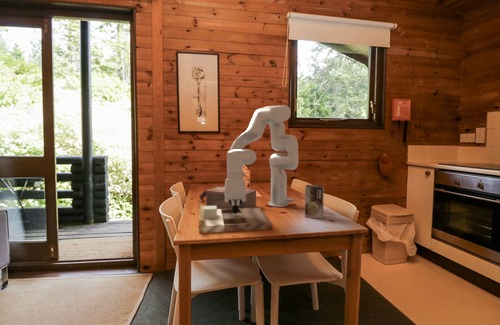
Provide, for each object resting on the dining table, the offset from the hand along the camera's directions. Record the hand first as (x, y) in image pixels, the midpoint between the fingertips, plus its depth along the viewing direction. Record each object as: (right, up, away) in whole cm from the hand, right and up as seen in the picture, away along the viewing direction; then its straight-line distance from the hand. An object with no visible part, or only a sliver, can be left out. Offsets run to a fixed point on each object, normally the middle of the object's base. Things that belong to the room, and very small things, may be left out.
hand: (235, 213), depth 137 cm
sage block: (-12, -1, -2) cm, 12 cm away
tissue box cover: (-4, -2, +30) cm, 30 cm away
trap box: (-1, -4, 0) cm, 4 cm away
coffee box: (+41, -4, +10) cm, 42 cm away
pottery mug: (-19, 0, +44) cm, 48 cm away
